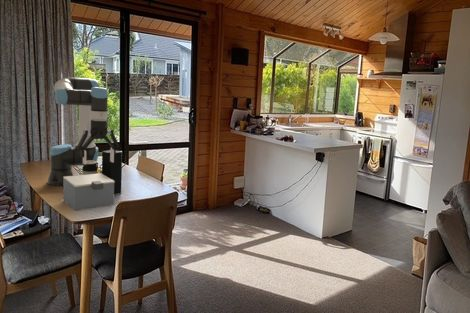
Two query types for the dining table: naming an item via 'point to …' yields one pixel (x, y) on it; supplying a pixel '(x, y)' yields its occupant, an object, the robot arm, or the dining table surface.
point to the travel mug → (89, 168)
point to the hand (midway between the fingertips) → (98, 162)
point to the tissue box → (113, 169)
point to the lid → (89, 180)
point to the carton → (88, 196)
